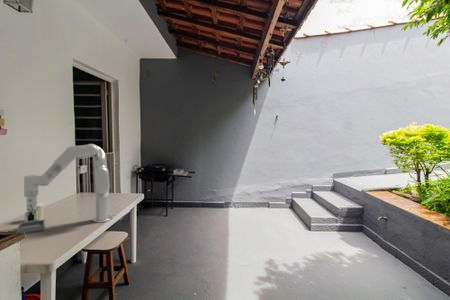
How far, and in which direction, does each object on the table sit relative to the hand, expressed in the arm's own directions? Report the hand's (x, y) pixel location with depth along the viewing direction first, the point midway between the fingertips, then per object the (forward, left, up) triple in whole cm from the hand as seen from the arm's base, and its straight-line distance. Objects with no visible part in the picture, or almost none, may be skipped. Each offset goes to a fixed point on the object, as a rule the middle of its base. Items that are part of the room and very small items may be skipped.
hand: (31, 218), depth 162 cm
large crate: (0, 0, -7) cm, 7 cm away
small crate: (0, 0, -1) cm, 1 cm away
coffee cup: (-1, -21, -8) cm, 22 cm away
